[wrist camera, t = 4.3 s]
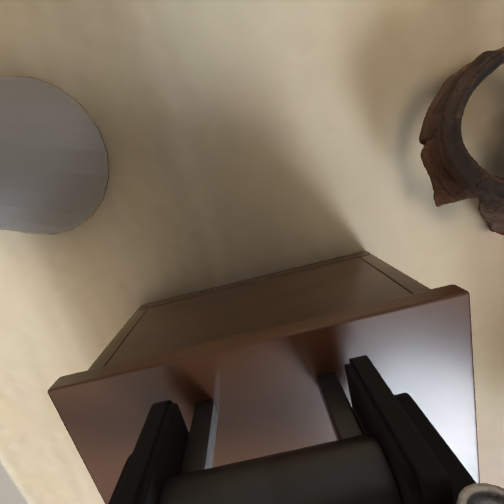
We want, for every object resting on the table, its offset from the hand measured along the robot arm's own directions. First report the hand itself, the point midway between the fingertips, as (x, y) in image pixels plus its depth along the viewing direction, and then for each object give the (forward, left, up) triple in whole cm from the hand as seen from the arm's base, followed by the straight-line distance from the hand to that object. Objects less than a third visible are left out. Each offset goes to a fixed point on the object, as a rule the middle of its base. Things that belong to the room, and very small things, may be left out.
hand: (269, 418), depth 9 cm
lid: (+6, +2, -2) cm, 6 cm away
